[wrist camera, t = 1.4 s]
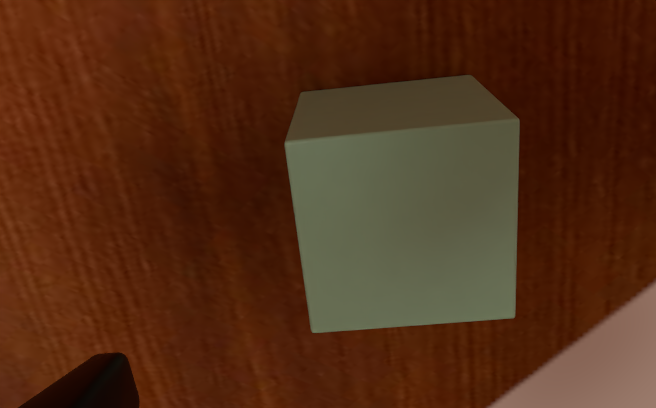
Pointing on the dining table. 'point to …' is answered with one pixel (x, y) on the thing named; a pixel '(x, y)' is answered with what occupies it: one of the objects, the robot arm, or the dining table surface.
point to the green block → (405, 203)
